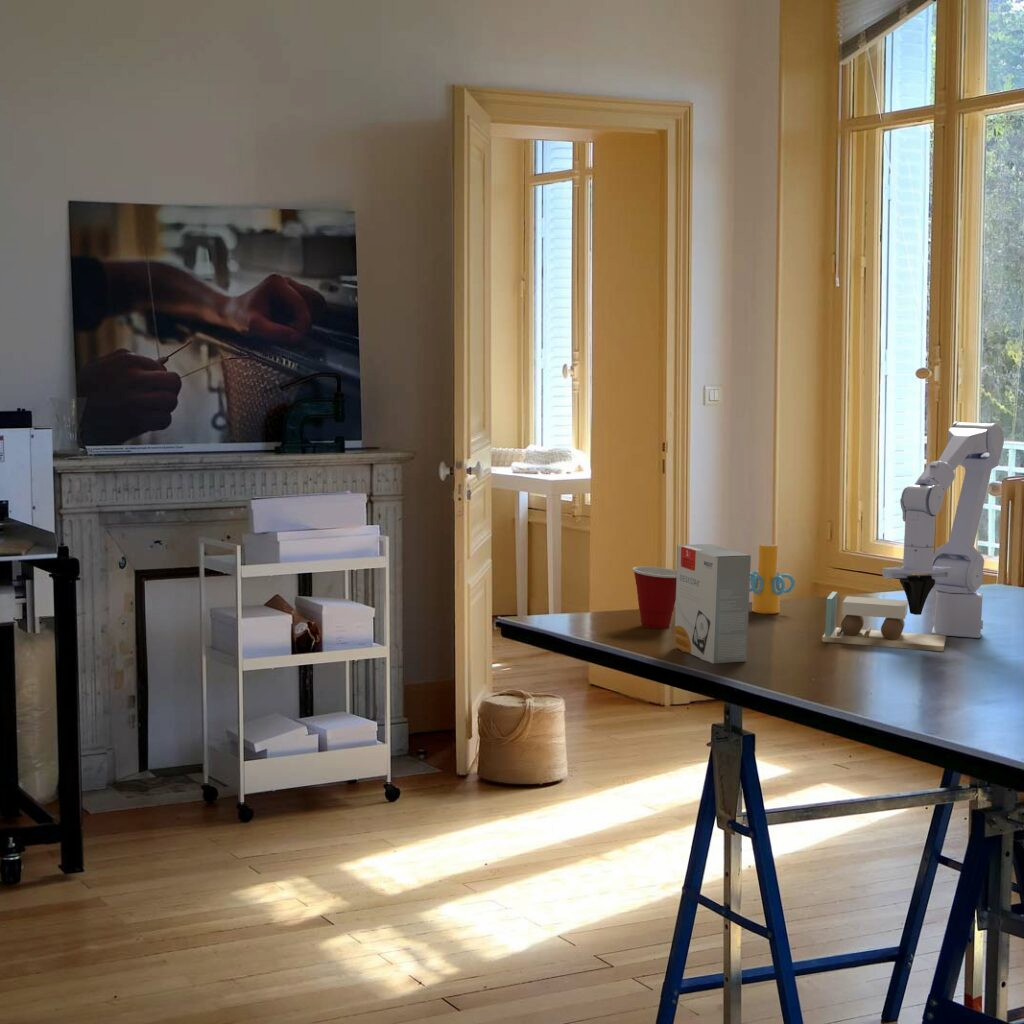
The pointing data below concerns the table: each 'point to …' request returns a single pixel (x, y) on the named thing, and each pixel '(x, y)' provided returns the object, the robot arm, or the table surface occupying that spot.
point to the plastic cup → (655, 595)
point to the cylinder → (768, 582)
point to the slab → (875, 607)
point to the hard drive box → (712, 603)
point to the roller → (852, 624)
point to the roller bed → (879, 633)
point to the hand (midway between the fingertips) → (915, 614)
